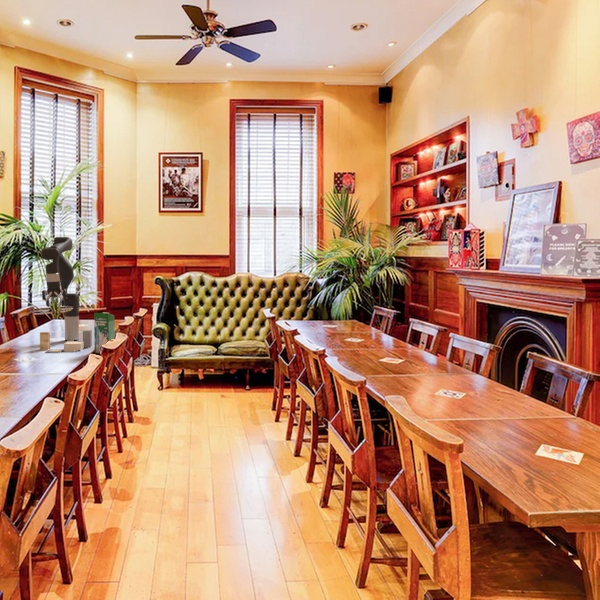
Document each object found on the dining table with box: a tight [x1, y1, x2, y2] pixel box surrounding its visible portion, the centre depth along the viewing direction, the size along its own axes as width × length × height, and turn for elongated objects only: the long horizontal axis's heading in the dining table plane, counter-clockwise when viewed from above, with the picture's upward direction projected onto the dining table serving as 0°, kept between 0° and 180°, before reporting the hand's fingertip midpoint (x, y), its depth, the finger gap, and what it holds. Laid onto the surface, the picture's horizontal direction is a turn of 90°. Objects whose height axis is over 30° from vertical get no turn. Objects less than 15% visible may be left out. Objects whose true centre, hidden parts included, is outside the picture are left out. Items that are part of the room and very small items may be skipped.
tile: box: [44, 348, 65, 354], centre depth 341 cm, size 9×9×1 cm
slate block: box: [82, 329, 93, 348], centre depth 361 cm, size 5×5×11 cm
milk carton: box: [93, 311, 116, 354], centre depth 343 cm, size 9×9×25 cm
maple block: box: [39, 331, 51, 351], centre depth 348 cm, size 5×5×11 cm
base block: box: [63, 340, 85, 352], centre depth 349 cm, size 10×10×5 cm
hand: (55, 306), depth 342 cm, fingers open, 8 cm apart
